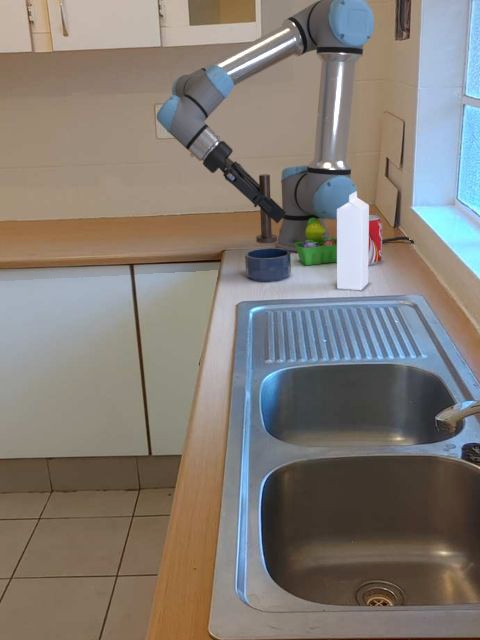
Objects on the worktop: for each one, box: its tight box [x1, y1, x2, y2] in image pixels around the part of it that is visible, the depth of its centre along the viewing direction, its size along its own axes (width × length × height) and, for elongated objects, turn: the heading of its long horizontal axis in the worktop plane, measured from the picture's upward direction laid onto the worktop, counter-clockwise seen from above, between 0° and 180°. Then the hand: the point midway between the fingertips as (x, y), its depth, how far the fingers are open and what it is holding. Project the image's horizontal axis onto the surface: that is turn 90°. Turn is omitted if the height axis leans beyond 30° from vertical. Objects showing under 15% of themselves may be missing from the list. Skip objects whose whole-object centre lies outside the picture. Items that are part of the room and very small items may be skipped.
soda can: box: [368, 214, 383, 266], centre depth 197 cm, size 7×7×12 cm
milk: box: [336, 190, 370, 291], centre depth 176 cm, size 6×6×22 cm
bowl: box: [244, 247, 292, 282], centre depth 191 cm, size 11×12×6 cm
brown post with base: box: [255, 173, 278, 244], centre depth 186 cm, size 5×5×16 cm
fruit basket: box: [295, 218, 337, 266], centre depth 201 cm, size 11×9×11 cm
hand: (281, 217), depth 186 cm, fingers closed on brown post with base, 3 cm apart
